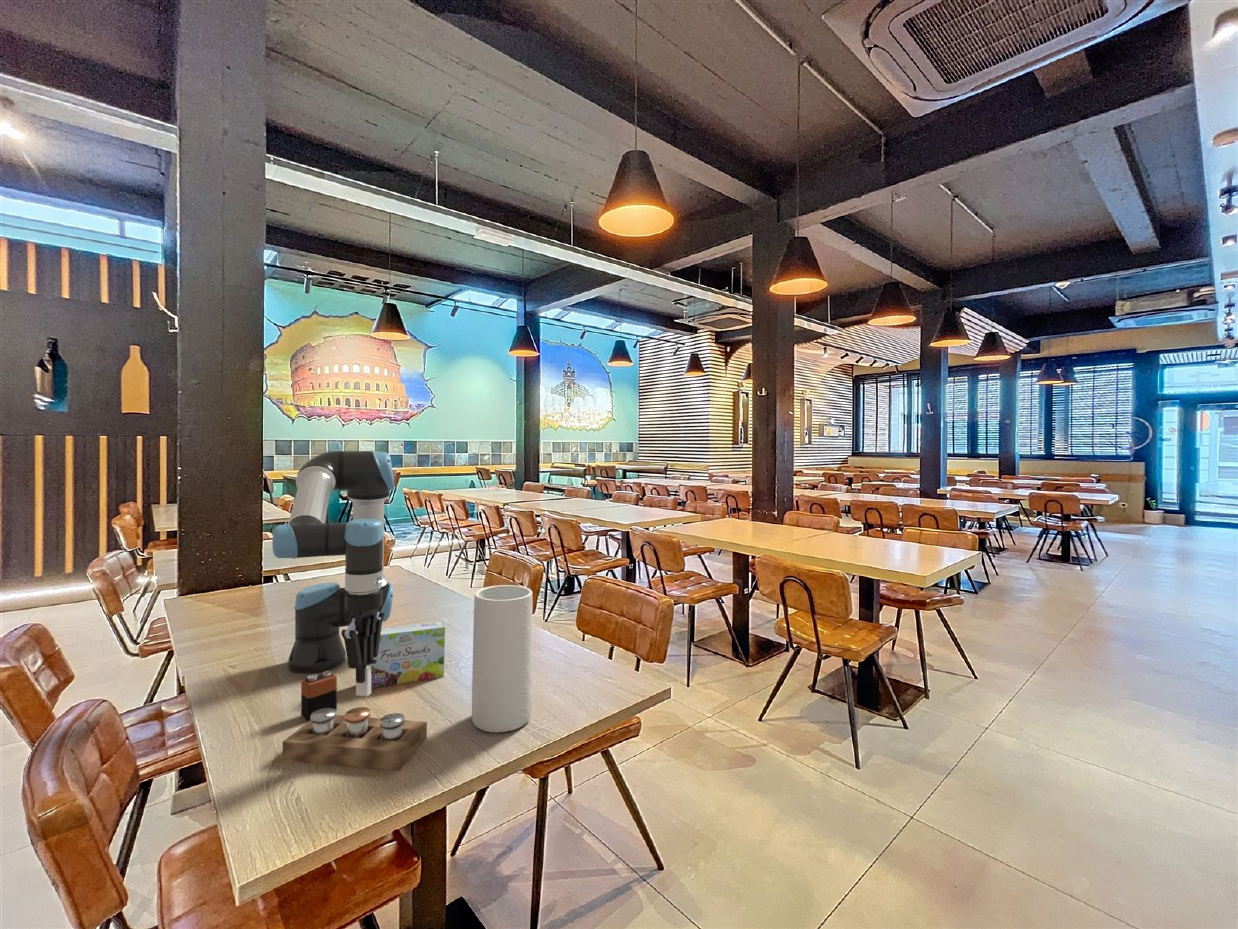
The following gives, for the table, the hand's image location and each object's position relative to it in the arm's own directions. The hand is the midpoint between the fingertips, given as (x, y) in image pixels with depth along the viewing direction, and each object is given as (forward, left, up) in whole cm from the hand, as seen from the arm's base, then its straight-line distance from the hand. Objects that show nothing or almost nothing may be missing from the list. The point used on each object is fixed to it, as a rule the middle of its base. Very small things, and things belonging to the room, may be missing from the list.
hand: (363, 694), depth 121 cm
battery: (-18, +11, -12) cm, 24 cm away
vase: (+27, +15, -11) cm, 33 cm away
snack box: (-7, +32, -12) cm, 34 cm away
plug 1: (-8, -2, -10) cm, 13 cm away
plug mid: (0, -2, -10) cm, 10 cm away
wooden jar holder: (0, -2, -11) cm, 11 cm away
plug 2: (+8, -2, -10) cm, 13 cm away
